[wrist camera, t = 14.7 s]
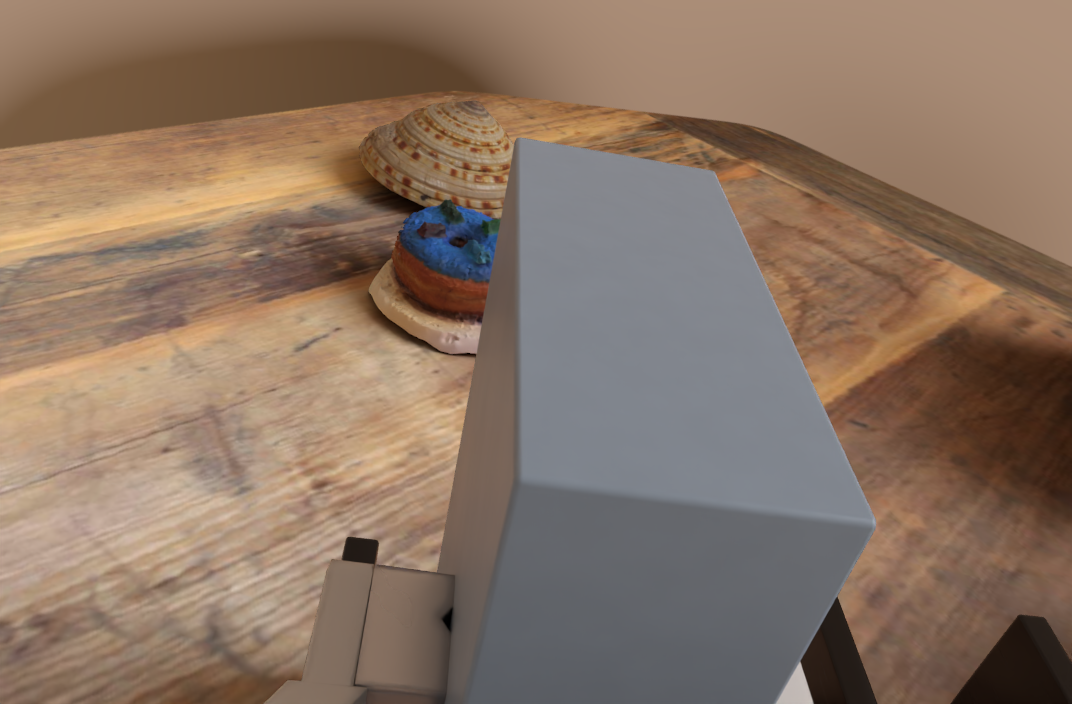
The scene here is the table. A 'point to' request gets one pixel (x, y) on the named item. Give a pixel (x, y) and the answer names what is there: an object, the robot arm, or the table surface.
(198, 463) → the table surface
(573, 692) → the grey rectangular block
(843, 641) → the rack
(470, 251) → the dessert
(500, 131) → the seashell
